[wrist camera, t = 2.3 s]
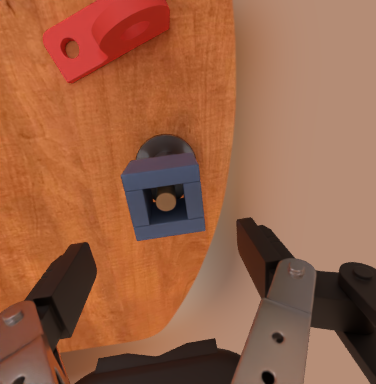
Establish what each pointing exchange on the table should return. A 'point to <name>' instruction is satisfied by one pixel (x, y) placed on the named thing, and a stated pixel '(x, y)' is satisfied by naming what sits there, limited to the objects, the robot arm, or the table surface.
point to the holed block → (157, 177)
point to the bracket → (104, 33)
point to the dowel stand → (165, 147)
